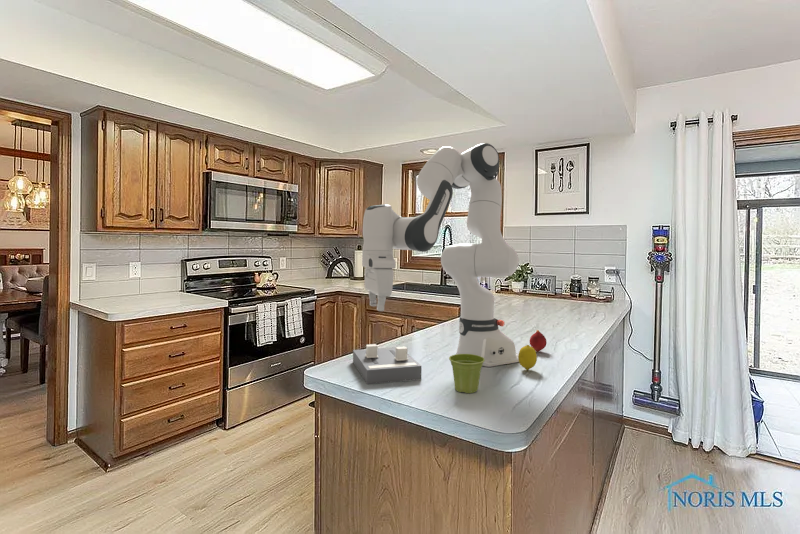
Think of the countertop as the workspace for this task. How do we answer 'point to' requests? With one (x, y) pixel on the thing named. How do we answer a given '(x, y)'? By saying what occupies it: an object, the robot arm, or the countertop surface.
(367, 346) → the block
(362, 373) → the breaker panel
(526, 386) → the countertop surface
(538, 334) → the onion
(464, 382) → the plant pot
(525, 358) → the lemon
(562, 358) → the countertop surface
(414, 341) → the countertop surface
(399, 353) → the block
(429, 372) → the countertop surface
